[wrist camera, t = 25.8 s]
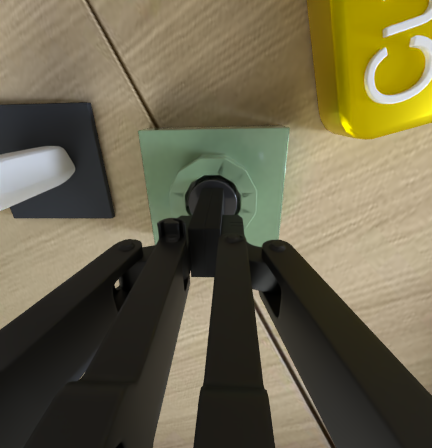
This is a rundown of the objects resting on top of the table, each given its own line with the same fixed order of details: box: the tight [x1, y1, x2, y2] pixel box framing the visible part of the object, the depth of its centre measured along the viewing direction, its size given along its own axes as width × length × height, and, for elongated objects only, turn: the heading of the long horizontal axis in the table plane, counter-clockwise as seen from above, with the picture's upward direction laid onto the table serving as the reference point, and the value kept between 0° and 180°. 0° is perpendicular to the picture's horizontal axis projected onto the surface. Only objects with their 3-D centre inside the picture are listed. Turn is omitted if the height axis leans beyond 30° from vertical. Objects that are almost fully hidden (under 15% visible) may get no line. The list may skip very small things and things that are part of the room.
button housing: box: [138, 125, 290, 247], centre depth 20 cm, size 11×10×4 cm
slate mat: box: [0, 102, 115, 218], centre depth 22 cm, size 10×10×1 cm
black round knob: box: [188, 175, 237, 215], centre depth 18 cm, size 4×4×2 cm
